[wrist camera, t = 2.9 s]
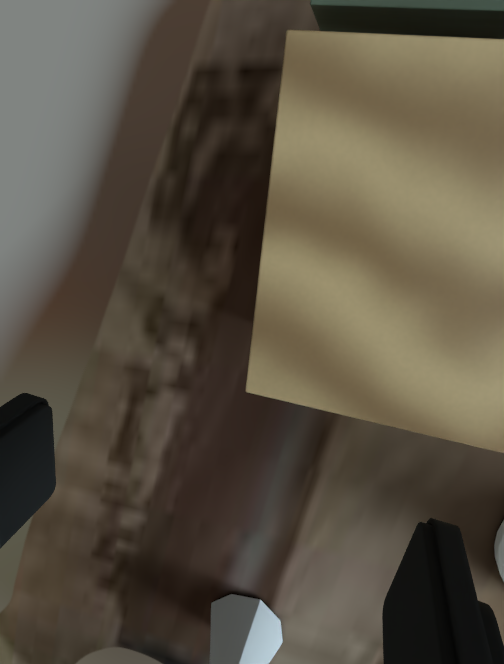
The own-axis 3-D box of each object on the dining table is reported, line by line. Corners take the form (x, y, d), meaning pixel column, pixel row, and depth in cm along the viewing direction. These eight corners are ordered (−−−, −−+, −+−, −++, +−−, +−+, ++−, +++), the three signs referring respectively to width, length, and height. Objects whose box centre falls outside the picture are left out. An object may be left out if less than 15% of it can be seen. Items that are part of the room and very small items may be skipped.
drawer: (353, -116, 19) (342, -251, 13) (695, -126, 16) (885, -304, 10) (292, 293, 27) (267, 329, 21) (518, 334, 24) (567, 390, 18)
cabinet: (316, 76, 23) (286, 28, 15) (616, 97, 20) (767, 49, 12) (279, 333, 29) (244, 392, 21) (506, 380, 26) (561, 468, 18)
